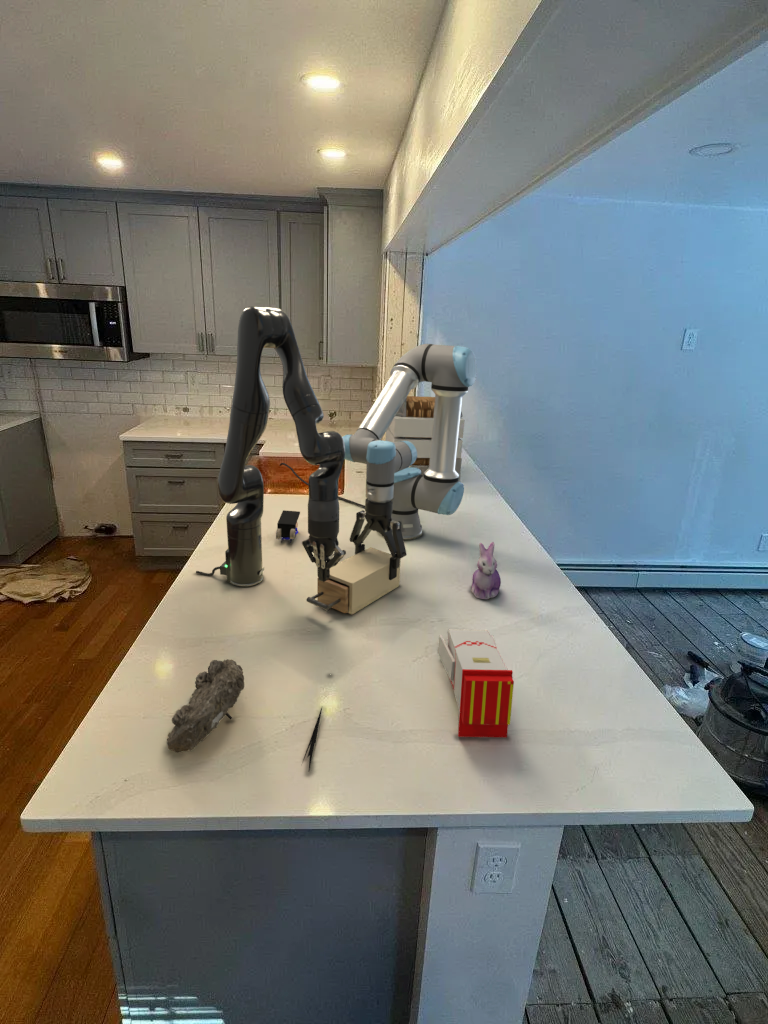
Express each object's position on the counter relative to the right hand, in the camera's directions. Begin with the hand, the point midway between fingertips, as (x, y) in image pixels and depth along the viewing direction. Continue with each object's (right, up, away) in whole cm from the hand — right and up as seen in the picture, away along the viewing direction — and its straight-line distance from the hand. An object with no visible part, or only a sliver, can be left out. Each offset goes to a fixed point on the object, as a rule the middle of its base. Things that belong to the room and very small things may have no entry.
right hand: (376, 572), depth 161 cm
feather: (-10, -23, -52) cm, 58 cm away
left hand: (-13, 0, -19) cm, 23 cm away
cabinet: (-4, -6, -4) cm, 8 cm away
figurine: (+31, -6, 0) cm, 32 cm away
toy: (+20, -21, -42) cm, 51 cm away
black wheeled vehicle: (-30, +8, +31) cm, 44 cm away
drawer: (-7, -6, -8) cm, 12 cm away
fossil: (-31, -22, -53) cm, 65 cm away
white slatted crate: (+19, +36, +114) cm, 121 cm away
